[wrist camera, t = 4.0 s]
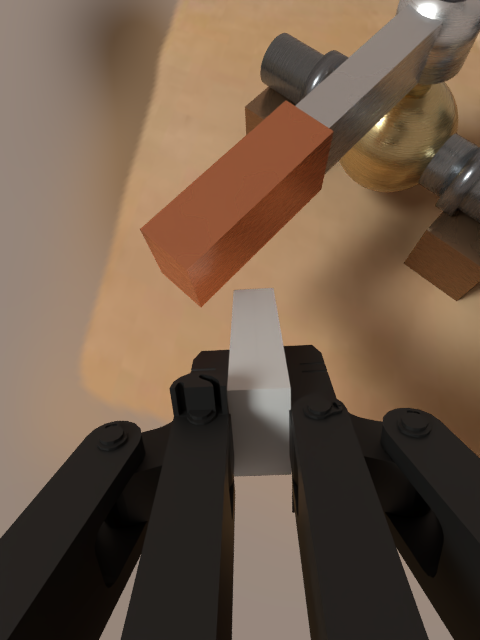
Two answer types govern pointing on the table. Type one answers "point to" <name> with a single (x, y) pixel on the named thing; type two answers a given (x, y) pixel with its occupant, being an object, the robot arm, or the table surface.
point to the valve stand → (398, 158)
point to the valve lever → (303, 146)
